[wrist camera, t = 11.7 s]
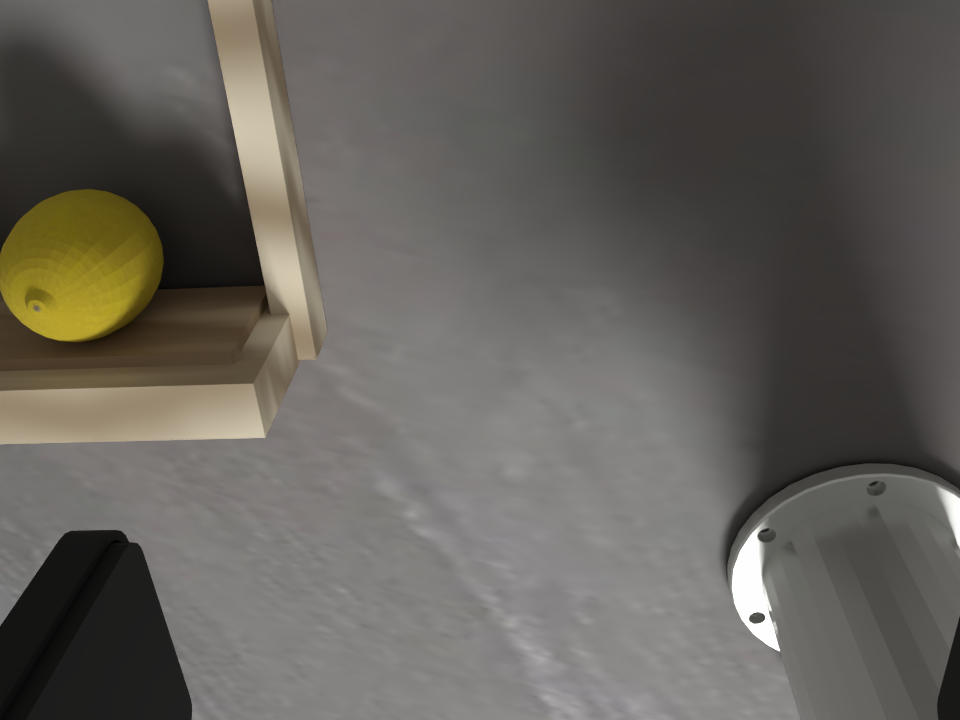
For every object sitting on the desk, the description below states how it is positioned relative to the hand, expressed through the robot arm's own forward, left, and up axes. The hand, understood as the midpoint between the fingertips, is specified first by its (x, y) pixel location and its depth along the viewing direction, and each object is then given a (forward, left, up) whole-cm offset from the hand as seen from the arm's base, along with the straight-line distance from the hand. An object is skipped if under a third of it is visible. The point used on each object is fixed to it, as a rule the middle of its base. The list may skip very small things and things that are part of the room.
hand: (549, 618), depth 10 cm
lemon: (-5, +18, -28) cm, 34 cm away
